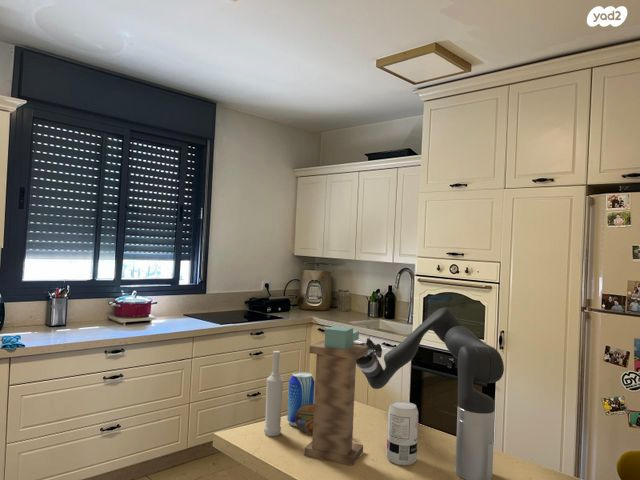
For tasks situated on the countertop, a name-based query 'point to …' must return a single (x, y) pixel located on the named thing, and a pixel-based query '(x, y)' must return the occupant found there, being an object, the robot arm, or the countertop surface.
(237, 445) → the countertop surface
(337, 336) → the mallet
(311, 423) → the tin
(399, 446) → the supplement can
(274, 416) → the bottle
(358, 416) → the countertop surface
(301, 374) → the beer can
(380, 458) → the countertop surface
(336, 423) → the stand
